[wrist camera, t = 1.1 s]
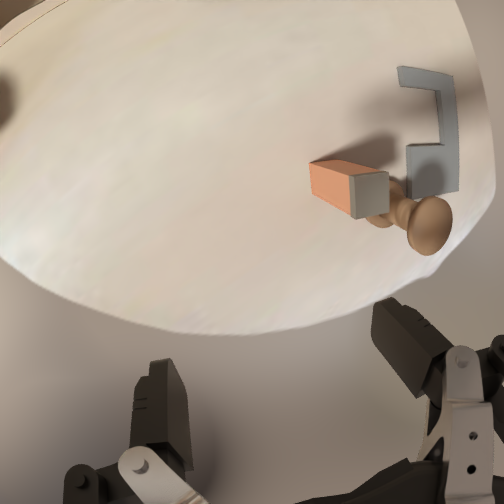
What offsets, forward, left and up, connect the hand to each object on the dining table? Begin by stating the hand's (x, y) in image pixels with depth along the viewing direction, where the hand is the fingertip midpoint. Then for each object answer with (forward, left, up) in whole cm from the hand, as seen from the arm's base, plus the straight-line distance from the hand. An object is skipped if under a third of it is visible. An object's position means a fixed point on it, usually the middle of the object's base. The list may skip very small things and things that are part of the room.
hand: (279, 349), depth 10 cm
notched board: (-5, +34, -26) cm, 43 cm away
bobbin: (+5, +23, -26) cm, 35 cm away
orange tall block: (0, +14, -26) cm, 30 cm away
